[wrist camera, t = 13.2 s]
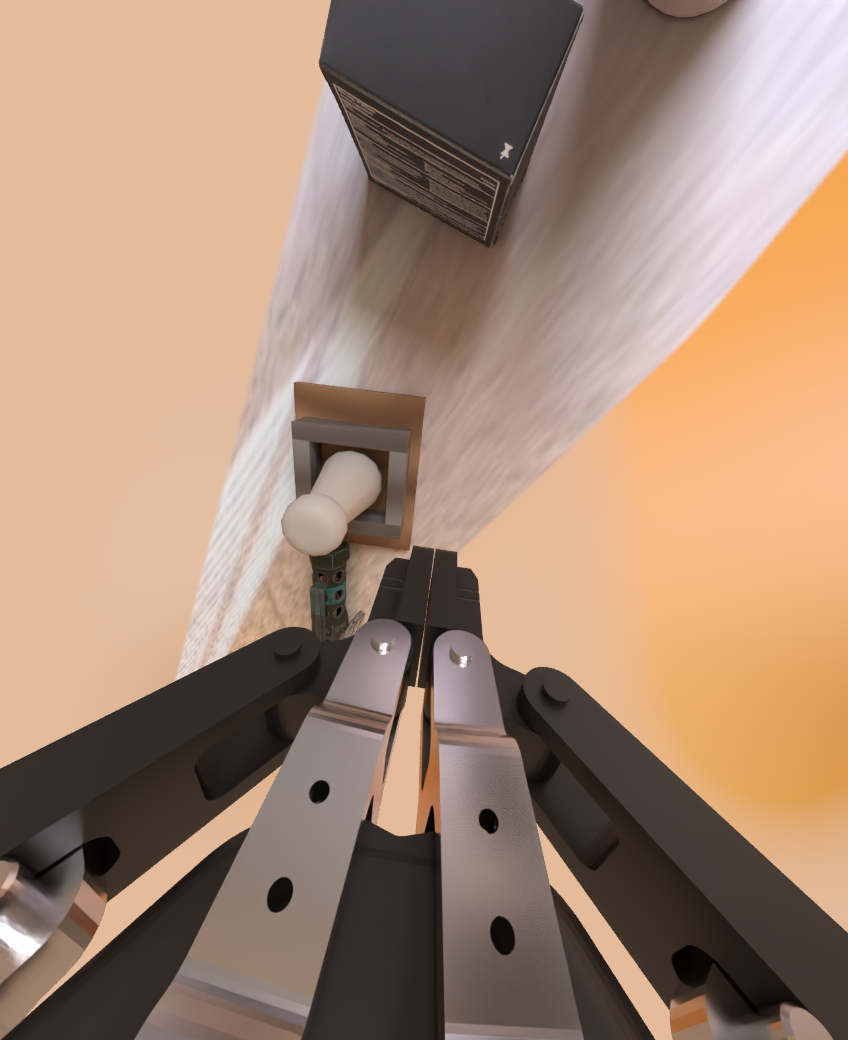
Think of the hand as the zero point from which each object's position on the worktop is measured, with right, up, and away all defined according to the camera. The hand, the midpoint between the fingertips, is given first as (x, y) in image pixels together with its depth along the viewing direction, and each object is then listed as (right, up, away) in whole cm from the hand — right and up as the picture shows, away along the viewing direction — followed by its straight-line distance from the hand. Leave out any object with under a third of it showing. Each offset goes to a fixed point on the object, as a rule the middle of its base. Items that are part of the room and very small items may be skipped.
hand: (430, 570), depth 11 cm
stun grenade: (-10, -6, +30) cm, 32 cm away
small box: (+2, +28, +13) cm, 30 cm away
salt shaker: (-7, +6, +22) cm, 24 cm away
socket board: (-7, +7, +23) cm, 25 cm away
